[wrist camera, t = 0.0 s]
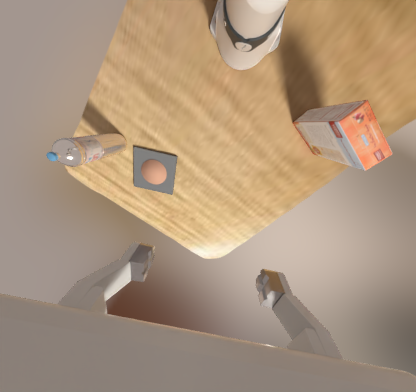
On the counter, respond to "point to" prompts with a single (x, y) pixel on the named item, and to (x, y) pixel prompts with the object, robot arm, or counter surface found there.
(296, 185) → the counter surface
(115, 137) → the water bottle
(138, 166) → the spot mat
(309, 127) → the cracker box
